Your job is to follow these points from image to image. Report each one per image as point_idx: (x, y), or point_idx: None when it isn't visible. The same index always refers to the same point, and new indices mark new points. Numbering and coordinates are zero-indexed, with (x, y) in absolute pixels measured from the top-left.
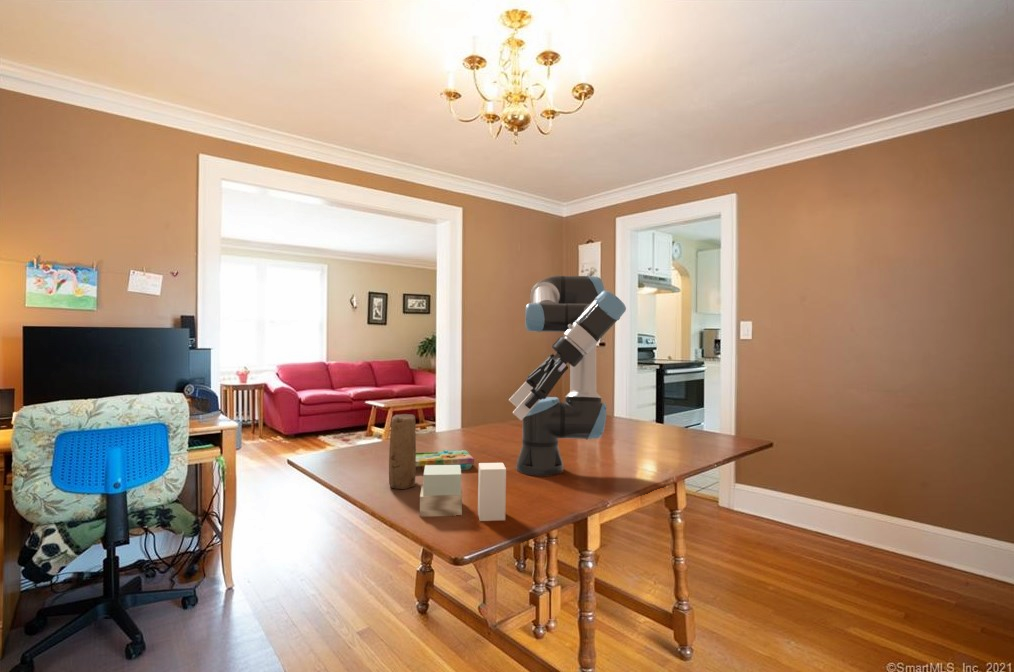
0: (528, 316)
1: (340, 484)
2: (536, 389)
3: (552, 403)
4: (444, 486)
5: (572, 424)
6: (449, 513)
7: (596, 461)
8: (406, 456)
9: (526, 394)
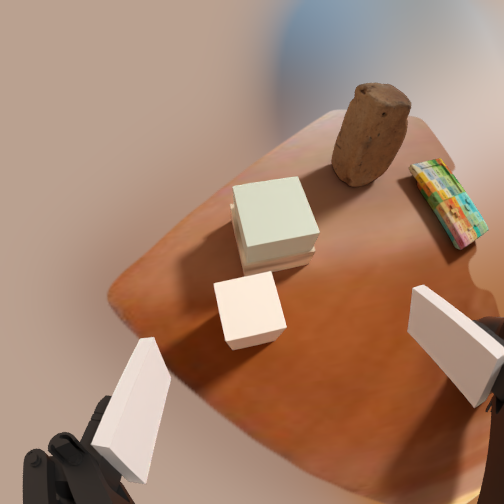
0: None
1: (329, 118)
2: (64, 470)
3: None
4: (240, 229)
5: None
6: (240, 258)
7: None
8: (349, 145)
9: (450, 371)
